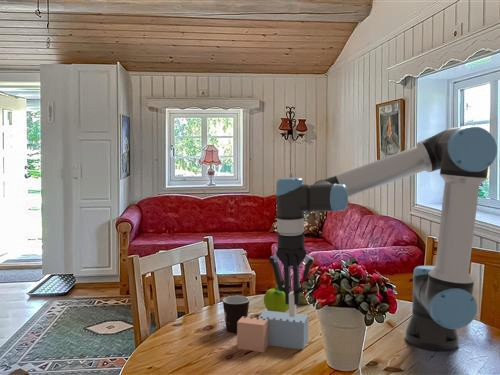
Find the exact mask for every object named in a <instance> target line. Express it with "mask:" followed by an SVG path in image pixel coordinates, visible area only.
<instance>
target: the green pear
mask: <svg viewBox="0 0 500 375" xmlns="http://www.w3.org/2000/svg"><path fill="white" fill-rule="evenodd" d="M299 278H300V276H299ZM292 291H293V292H294V289H293V290H292ZM299 295H300V302H299V304H298V305H303V306H304V305H305V306H306V305H309V304H308V303H307V300H306V298H305V296H304V293H303V292H301V293H299Z"/></svg>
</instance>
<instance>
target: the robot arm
mask: <svg viewBox="0 0 500 375" xmlns="http://www.w3.org/2000/svg"><path fill="white" fill-rule="evenodd" d="M497 155H498V146H497V142H496V140H495V137H494V136H493V134H491V133H490V131H488V130H486V129H485V128H483V127H480V126H477V125H476V126H475V125H463V126H458V127H457V126H456V127H450V128H447V129H444V130H442V131H440V132H438V133H436V134H434V135H432V136H430V137H428V138H425V139H423V140H420V141H418V142H417V143H416V145H415V146H413V147H411V148H408V149H405V150H402V151H400V152H397V153H394V154H391V155H389V156H386V157H383V158H381V159H378V160H375V161H372V162H369V163H367V164H364V165H361V166H359V167H356V168H353V169H350V170H347V171H344V172H342V173H339V174H336V175H334V176H331V177H328V178H325V179H320V180H317V181H314V183H313V184H305V183H304V179H303V178H302V177H282V178H279V179H277V181H276V183H275V184H276V187H275V188H276V189H275V190H276V192H275V193H276V194H275V200H276V202H275V203H276V231H277V233H278V234H277V238H276V239H277V250H276V252H275V254H274V255H271V256H270V257H269V258H268V262H269V264H271V266H272V270H273V274H274V277H275V281H276V285H278V289H279V291H283V292H284V293H285V303H286V304H289V308H288V313H289V317H295V315H296V314H297V306H298V305H300V304H299V302H300V295H299V293H301V292H304V291H303V289H302V283H303V281H304V280H305V279H306V278H307V277H308V274H309V275H310V272H311V266H312V264H313V263H314V262H315V257H313V256H312V257H311V256H309V255H308V253H307V250H306V249H305V248H306V247H305V234H304V232H305V215H304V214H305V213H306V212H334V213H336V212H341V211H346V210H347V209H348V202H349V201H348V200H349V198H351V197H354V196H356V195H358V194H359V195H360V194H361V193H365V192H368V191H371V190H374V189H376V188H379V187H382V186H384V185H387V184H388V185H389V184H391V183H394V182H397V181H399V180H403V179H405V178H407V177H412V176H414V175H416V174H419V173H422V172H424V171H425V172H427V173H431V172H436V171H439V176H440V177H441V179H442V180H444V187H443V196H442V203H441V204H442V205H441V212H440V213H441V214H440V223H439V230H438V239H437V241H438V242H437V246H436V247H437V248H436V256H435V263H434V264H435V265H418V266H415V268H414V269H413V275H412V303H411V304H412V306H411V307H412V312H411V316H410V318H409V322H408V323H407V326H406V329H405V340H406V341H407V342H408V343H409V344H411V345H412V346H414V347H417V348H421V349H423V350H429V351H437V352H438V351H439V352H444V351H443V350H446V351H452V350H454V348H455V349H456V348H458V346H459V341H460V340H459V334H458V332H457V331H458V330H459V329H462V328H465V327H466V326H468V325H470V324H471V323H472V322H473V321H474V320H475V318H476V317H477V313H478V304H477V302H476V298H475V297H474V296H473V292H474V284H475V279H474V278H473V276H472V275H471V273H470V266H471V255H472V249H473V241H474V240H473V239H474V233H475V226H476V218H477V217H476V216H477V206H478V200H479V193H480V192H479V191H480V186H481V185H482V183H484V182H485V181H486V180H488V178H487V177H488V173H489V172H488V171H489V167H490V166H491V165H492V164H493V163H494V161H495V160H496V157H497ZM304 260H305V261H304ZM279 261H280V262H281V263H282V265H283V272H284V273H283V275H282V272H281V268H280V264H279ZM303 261H304V263H305V266H304V270H303V275H302V276H303V279H302V283H301V287H300V281H299V277H300V265H301V264H302V262H303ZM291 267H292V273H293V274H292V275H293V276H291ZM309 271H310V272H309ZM283 276H284V278H283ZM291 277H293V279H292V280H293V282H292V280H291ZM308 278H309V277H308ZM291 283H293V290H294V292H293V290H292V286H291V285H292V284H291ZM291 290H292V291H291ZM451 349H452V350H451Z"/></svg>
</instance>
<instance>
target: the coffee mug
mask: <svg viewBox="0 0 500 375" xmlns="http://www.w3.org/2000/svg"><path fill="white" fill-rule="evenodd" d="M222 305H223V313H224V314H223V315H224V321H225V322H224V323H225V329H226V332H227V333H229V334H234V335H235V334H236V335H237V322H238V321H239V320H240V319H241V318H242V316H246V317H249V316H248V315H249V306H250V298H249V297H247V296H244V295H229V296H225V297H223V299H222Z"/></svg>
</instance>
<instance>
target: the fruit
mask: <svg viewBox="0 0 500 375" xmlns="http://www.w3.org/2000/svg"><path fill="white" fill-rule="evenodd" d="M263 303H264V306H265V308H266V311H275V312H285V313H287V311H289V304H286V303H285V293H284V292H283V291H279V289H278V285H277V284H276V285H275V287H274V288H269V289H268V290H267V291H266V293H265V294H264V296H263Z"/></svg>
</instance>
